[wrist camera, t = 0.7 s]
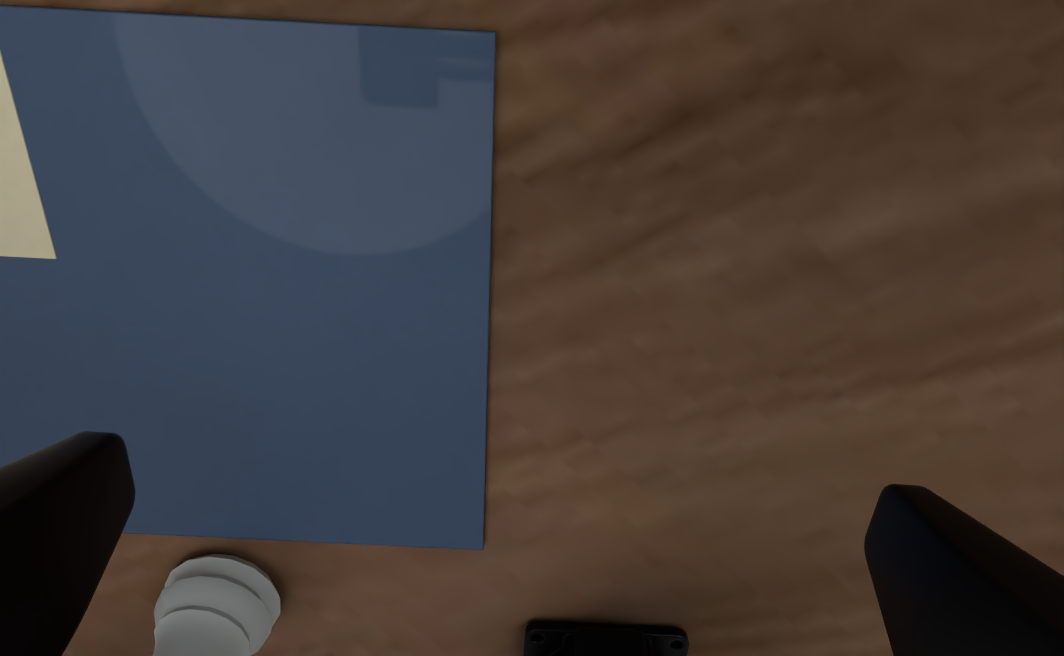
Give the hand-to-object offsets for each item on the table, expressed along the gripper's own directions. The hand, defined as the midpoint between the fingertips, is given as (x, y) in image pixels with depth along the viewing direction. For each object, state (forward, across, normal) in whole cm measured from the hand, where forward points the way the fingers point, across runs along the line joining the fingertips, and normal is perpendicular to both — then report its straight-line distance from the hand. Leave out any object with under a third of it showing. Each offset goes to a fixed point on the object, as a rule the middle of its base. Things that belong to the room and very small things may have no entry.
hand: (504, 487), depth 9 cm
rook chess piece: (+14, +11, +17) cm, 25 cm away
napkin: (+14, +11, +5) cm, 18 cm away
